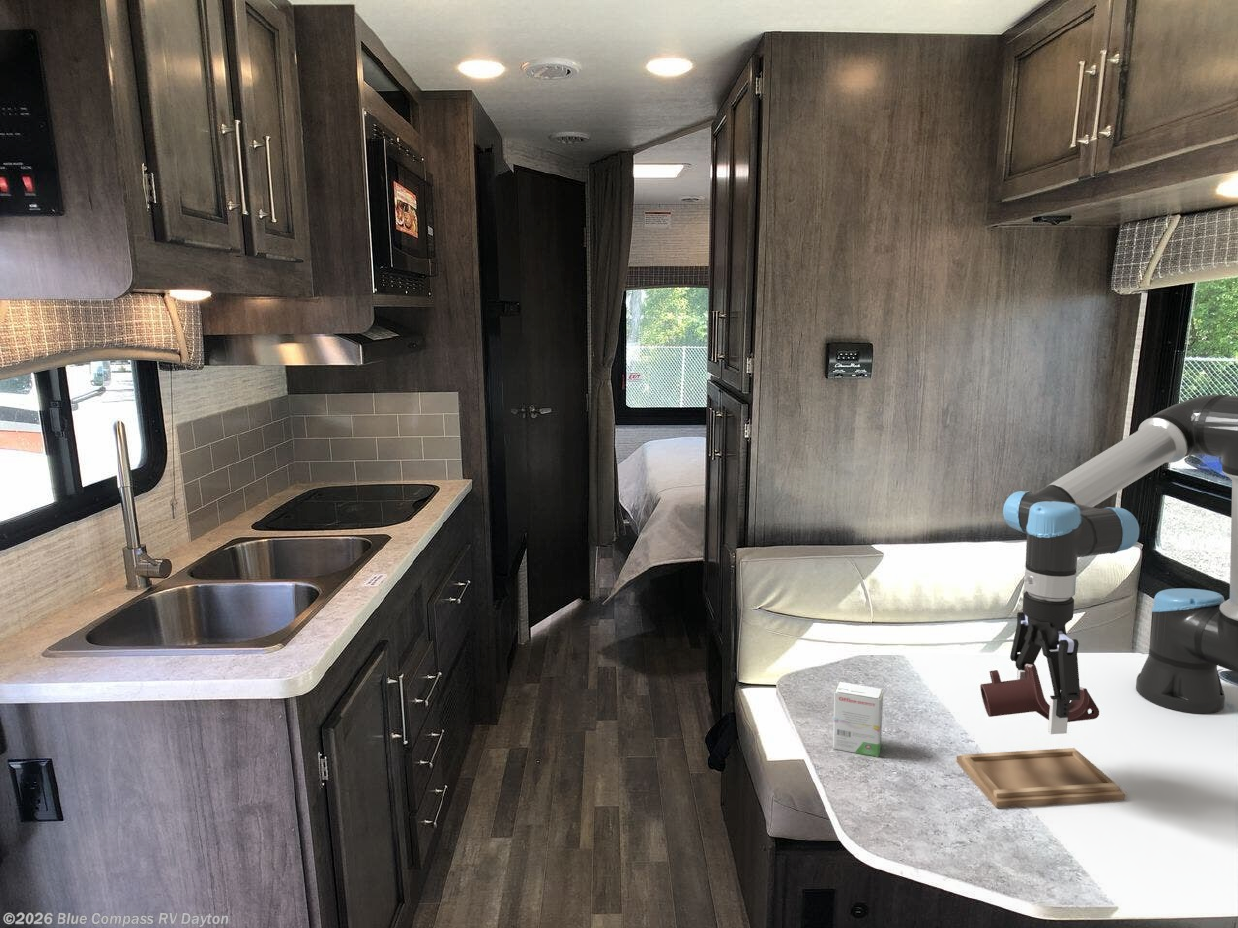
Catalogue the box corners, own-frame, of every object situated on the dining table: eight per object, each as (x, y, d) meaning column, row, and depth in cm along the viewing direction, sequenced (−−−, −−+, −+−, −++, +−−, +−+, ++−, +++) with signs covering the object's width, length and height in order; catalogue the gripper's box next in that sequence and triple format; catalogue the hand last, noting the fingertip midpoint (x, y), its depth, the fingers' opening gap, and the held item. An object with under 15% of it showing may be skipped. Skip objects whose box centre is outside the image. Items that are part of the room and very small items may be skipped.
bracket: (1105, 719, 128) (1087, 658, 130) (995, 732, 132) (980, 672, 134) (1094, 715, 134) (1077, 656, 136) (989, 727, 138) (975, 669, 140)
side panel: (1072, 754, 144) (1073, 744, 143) (1124, 800, 130) (1125, 789, 130) (956, 761, 143) (956, 751, 142) (996, 808, 129) (996, 797, 129)
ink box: (832, 749, 149) (833, 691, 147) (836, 735, 153) (837, 680, 151) (879, 758, 145) (880, 699, 143) (882, 744, 150) (884, 687, 148)
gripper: (993, 574, 141) (986, 690, 145) (1066, 618, 119) (1057, 753, 123) (1033, 572, 141) (1026, 688, 145) (1114, 616, 120) (1102, 750, 124)
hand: (1040, 717), depth 134 cm, fingers closed on bracket, 9 cm apart
